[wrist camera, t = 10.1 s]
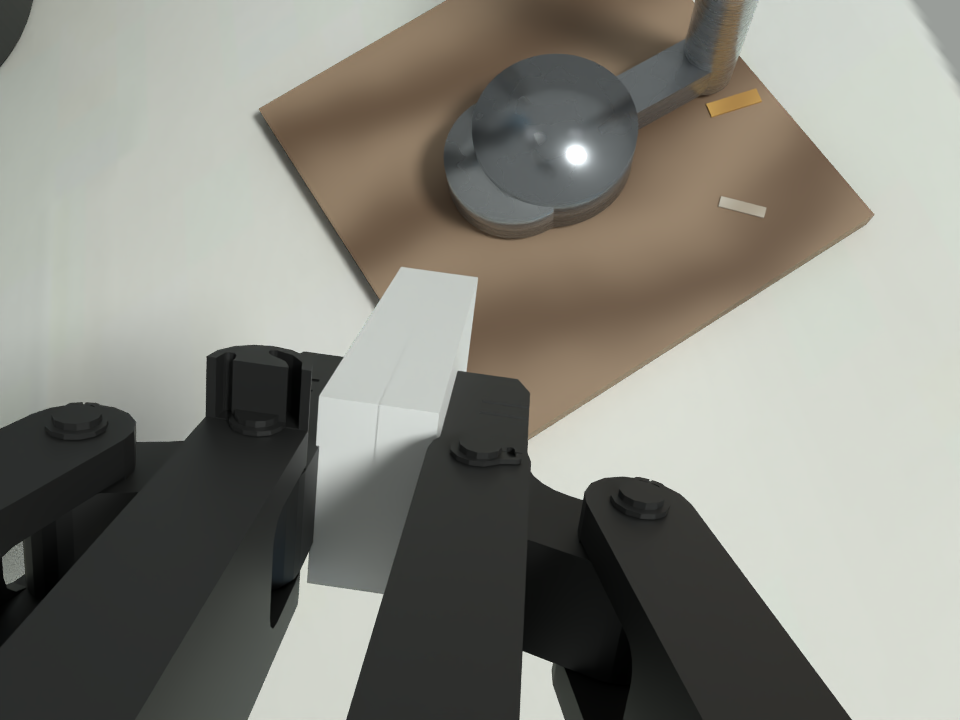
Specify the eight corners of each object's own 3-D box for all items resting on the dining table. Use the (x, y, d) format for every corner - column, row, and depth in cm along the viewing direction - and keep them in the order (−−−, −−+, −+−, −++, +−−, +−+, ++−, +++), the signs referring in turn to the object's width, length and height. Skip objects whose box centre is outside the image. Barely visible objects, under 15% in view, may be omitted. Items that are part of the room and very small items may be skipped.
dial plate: (264, 120, 43) (258, 107, 42) (609, -80, 45) (611, -97, 44) (486, 466, 38) (484, 462, 37) (866, 224, 40) (875, 214, 38)
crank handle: (496, 271, 39) (460, -6, 21) (418, 148, 40) (328, -199, 23) (771, 117, 40) (950, -265, 22) (684, 4, 42) (787, -429, 24)
